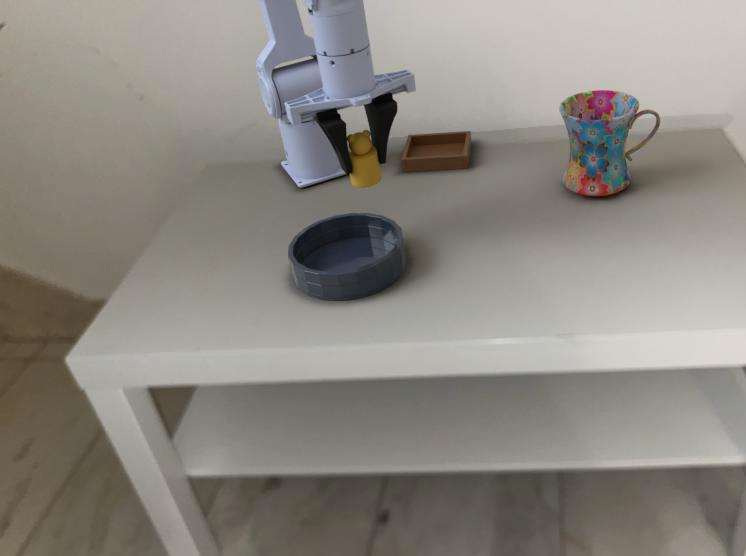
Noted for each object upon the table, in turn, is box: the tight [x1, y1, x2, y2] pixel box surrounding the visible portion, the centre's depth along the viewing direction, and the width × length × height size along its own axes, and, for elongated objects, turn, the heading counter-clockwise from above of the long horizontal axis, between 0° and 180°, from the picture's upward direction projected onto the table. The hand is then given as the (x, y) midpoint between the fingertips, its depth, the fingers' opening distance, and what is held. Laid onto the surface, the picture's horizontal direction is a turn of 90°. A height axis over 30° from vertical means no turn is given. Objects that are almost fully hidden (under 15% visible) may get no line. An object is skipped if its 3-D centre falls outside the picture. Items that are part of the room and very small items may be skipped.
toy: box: [347, 129, 382, 189], centre depth 88 cm, size 4×4×6 cm
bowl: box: [287, 212, 407, 302], centre depth 88 cm, size 13×13×4 cm
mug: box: [558, 89, 661, 197], centre depth 95 cm, size 12×9×11 cm
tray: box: [400, 130, 472, 173], centre depth 109 cm, size 9×8×2 cm
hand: (363, 165), depth 89 cm, fingers closed on toy, 3 cm apart
